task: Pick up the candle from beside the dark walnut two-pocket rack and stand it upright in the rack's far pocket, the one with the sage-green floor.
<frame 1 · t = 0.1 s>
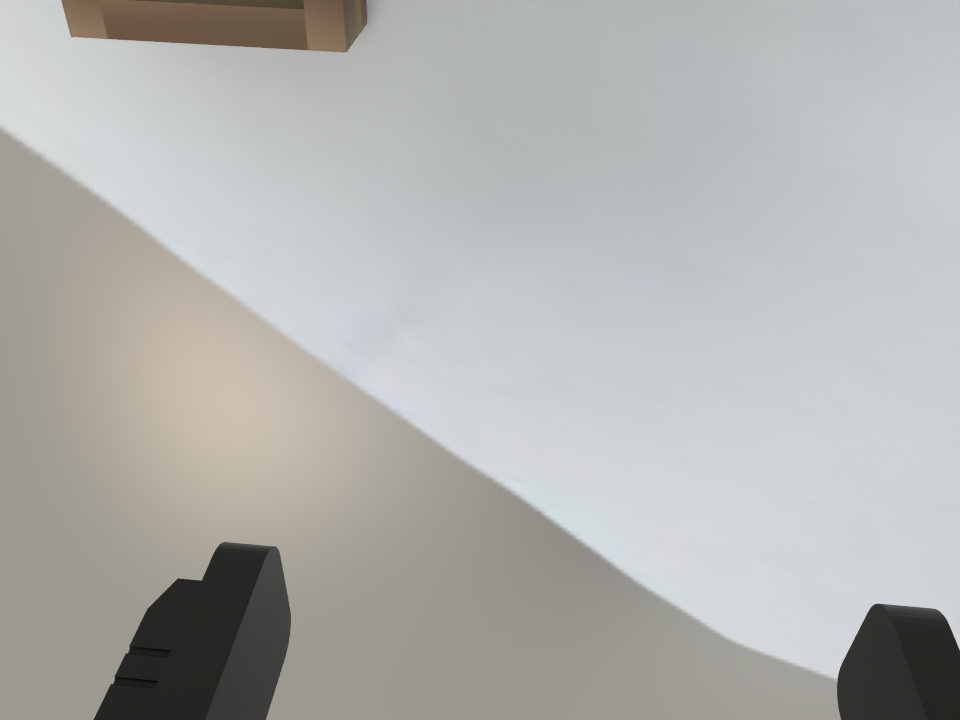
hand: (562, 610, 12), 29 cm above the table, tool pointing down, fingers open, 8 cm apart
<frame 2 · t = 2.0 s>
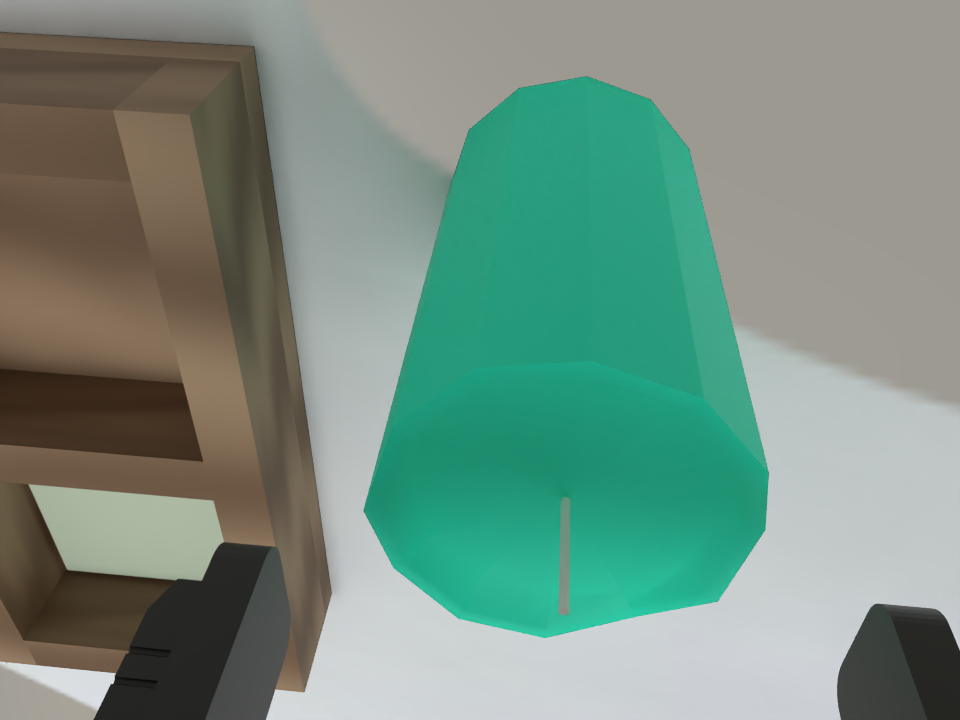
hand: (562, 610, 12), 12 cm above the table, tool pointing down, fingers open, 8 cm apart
candle: (570, 193, 21), on the table
slot rack: (126, 375, 26), on the table
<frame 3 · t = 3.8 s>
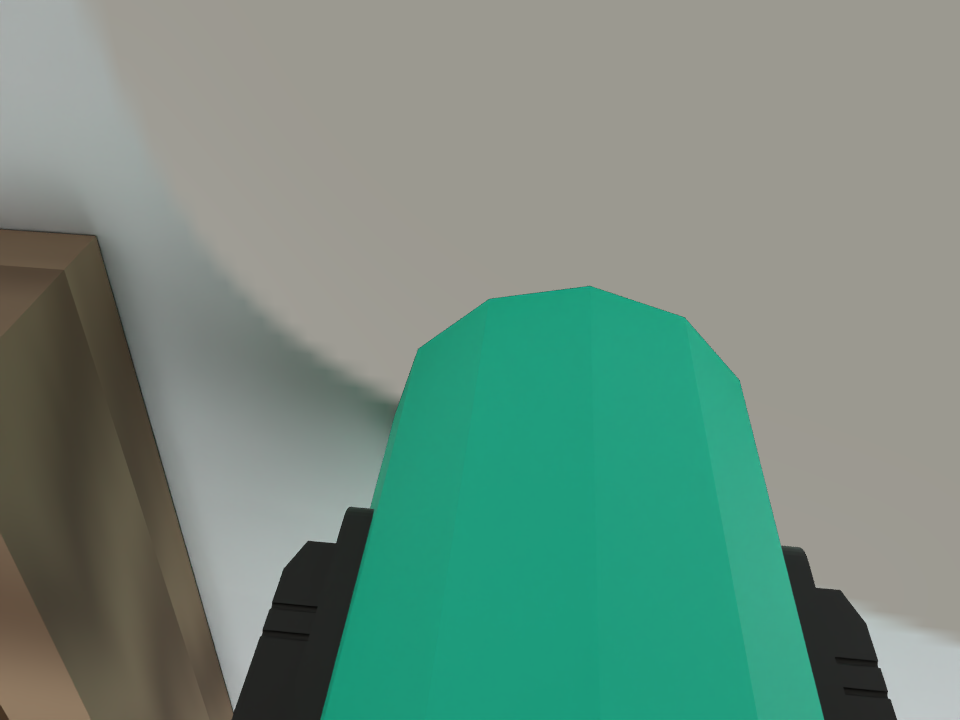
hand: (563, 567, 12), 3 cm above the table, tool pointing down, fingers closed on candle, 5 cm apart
candle: (566, 425, 15), on the table, touching gripper
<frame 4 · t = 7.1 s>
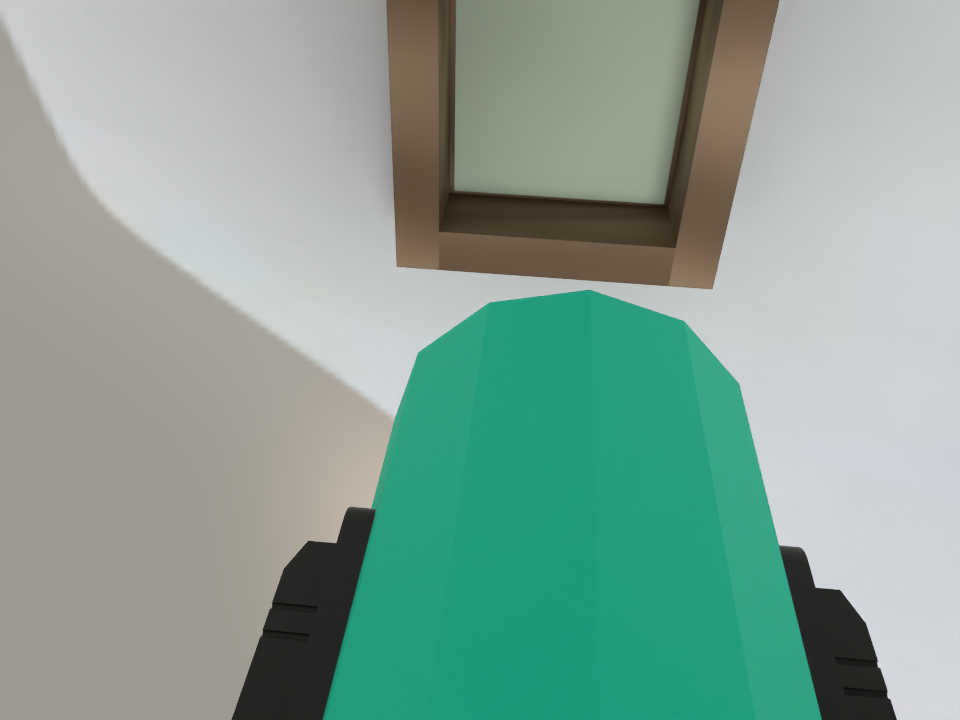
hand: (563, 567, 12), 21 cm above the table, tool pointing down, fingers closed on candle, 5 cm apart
candle: (566, 428, 15), point 18 cm above the table, touching gripper
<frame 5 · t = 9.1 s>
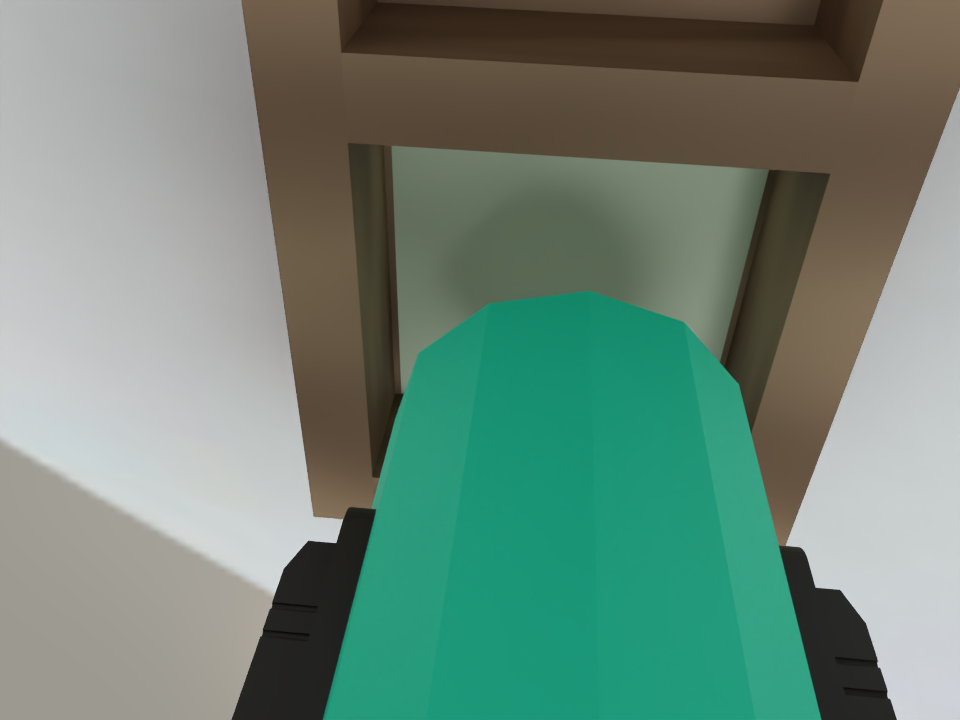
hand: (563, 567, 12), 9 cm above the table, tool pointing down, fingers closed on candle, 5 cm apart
candle: (566, 429, 15), point 6 cm above the table, touching gripper
slot rack: (587, 39, 17), on the table
when the fingers open (5 cm above the table, at t = 10.8 s): candle drops 1 cm, resting on slot rack.
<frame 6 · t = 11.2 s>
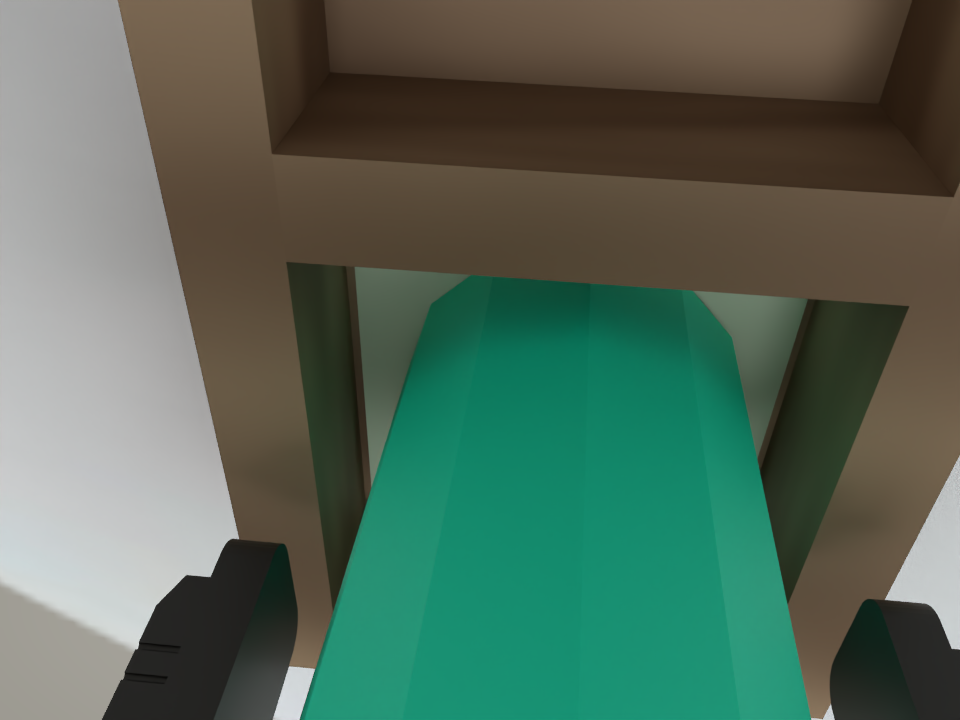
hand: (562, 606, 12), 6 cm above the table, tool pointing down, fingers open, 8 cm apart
candle: (569, 381, 15), point 1 cm above the table, touching slot rack
slot rack: (592, 112, 13), on the table
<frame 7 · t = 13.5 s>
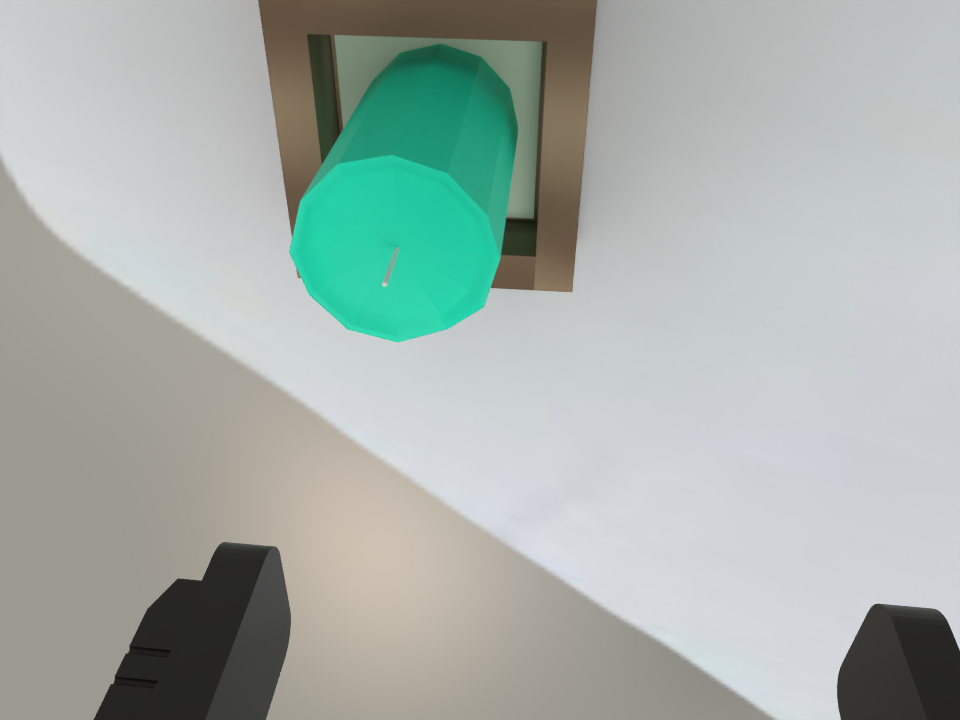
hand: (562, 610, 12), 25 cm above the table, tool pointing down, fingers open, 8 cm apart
candle: (441, 121, 32), point 1 cm above the table, touching slot rack
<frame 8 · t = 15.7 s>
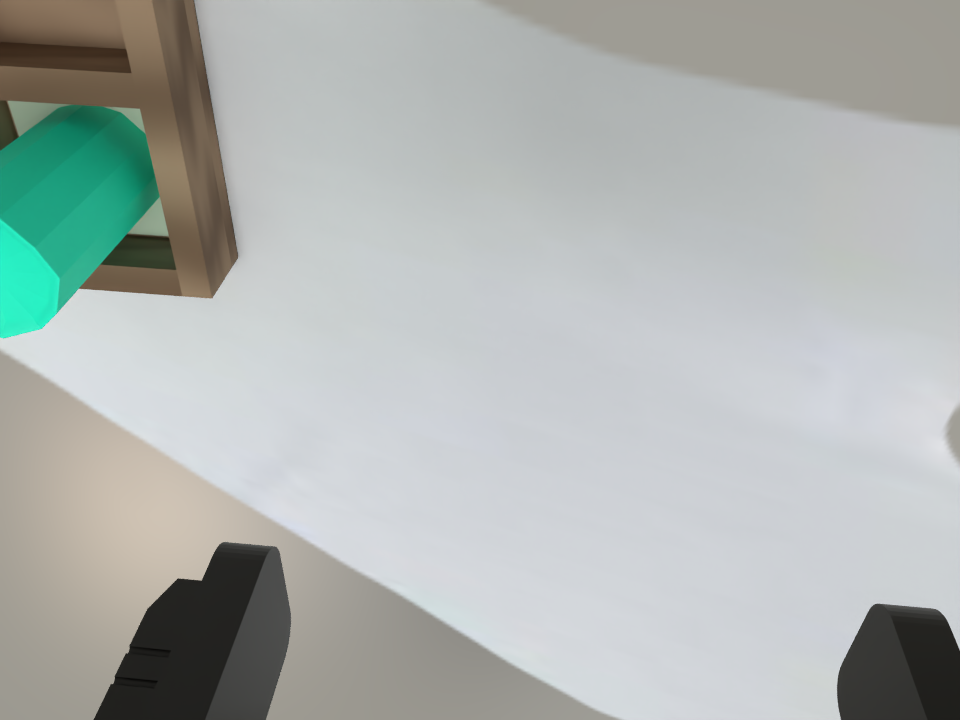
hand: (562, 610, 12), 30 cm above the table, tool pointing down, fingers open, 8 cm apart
candle: (104, 160, 40), point 1 cm above the table, touching slot rack
slot rack: (87, 56, 38), on the table
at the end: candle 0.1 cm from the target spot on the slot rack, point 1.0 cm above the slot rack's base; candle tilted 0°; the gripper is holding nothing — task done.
